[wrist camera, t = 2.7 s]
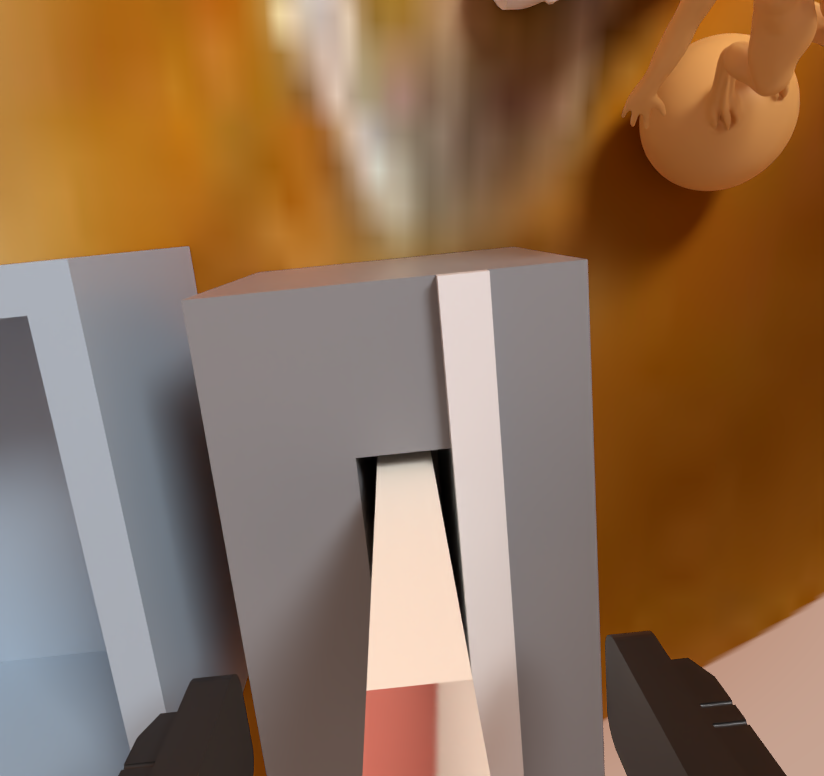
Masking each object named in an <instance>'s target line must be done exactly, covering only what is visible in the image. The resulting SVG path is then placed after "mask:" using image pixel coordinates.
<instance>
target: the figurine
mask: <svg viewBox="0 0 824 776" xmlns="http://www.w3.org/2000/svg"><path fill="white" fill-rule="evenodd" d="M715 1H716V0H681V1H680V3H679V6H678V8H677V10H676V12H675V14H674V16H673V18H672V20H671V22H670V23H669V25H668V27H667V28H666V30H665V32H664V34H663V36H662V38H661V41H660V43H659V44H658V46H657V48H656V50H655V52H654V55H653V57H652V60H651V63H650V65H649V68H648V70H647V72H646V74H645V75H644V77H643V78H642V79H641V81H640V82H639V83H638V84H637V86H636V87H635V88H634V90H633V91H632V92H631V94H630V95H629V97H628V99H627V102H626V104H625V106H624V109H623V112H622V118H624V117H625V116H626V114H627V112H628V111H631V112H632V116H631V120H630V123H631V126H632V127H633V126H634V125H635V123H636V120H637V118H638V116H639V114H640V118H639V131H640V138H641V143H642V146H643V149H644V152H645V154H646V156H647V158H648V160H649V161H650V163H651V164H652V166H653V167H654V168H655V169H656V170H657V171H658V172H659V173H660V174H661V175H662V176H663V177H664V178H666V179H667V180H669V181H670V182H672V183H674V184H676V185H678V186H681V187H684V188H687V189H691V190H697V191H717V190H723V189H727V188H731V187H734V186H737V185H740V184H742V183H744V182H746V181H748V180H750V179H752V178H753V177H755V176H757V175H758V174H760V173H761V172H762V171H764V170H765V169H766V168H767V167H768V166H769V165H770V164H771V163H772V162H773V161H774V160H775V159H776V158H777V157H778V156H779V155H780V153H781V152H782V151H783V149H784V148H785V146H786V145H787V143H788V141H789V140H790V138H791V136H792V133H793V131H794V128H795V126H796V122H797V119H798V114H799V107H800V92H799V85H798V81H797V78H796V75H795V72H794V70H795V67H796V64H797V62H798V60H799V59H800V57H801V56H802V55H803V53H804V52H805V51H806V50H807V48H808V47H809V45H810V44H811V42H814V43H817V44H819V45H822V46H824V0H820V4H819V3H817V2H814V0H754V12H753V17H752V28H751V35H746V34H738V33H727V34H719V35H714V36H710V37H706V38H703V39H701V40H698V41H696V42H694V43H692V44H690V42H691V40H692V38H693V36H694V34H695V32H696V30H697V28H698V26H699V24H700V23H701V21H702V20H703V18H704V17H705V16H706V14H707V13H708V12H709V10H710V9H711V7H712V6H713V4H714V3H715ZM689 44H690V45H689Z"/></svg>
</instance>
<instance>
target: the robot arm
mask: <svg viewBox="0 0 824 776" xmlns="http://www.w3.org/2000/svg"><path fill="white" fill-rule="evenodd" d="M605 655H606V687H607V713H608V721H609V726H610V731H611V735H612V739H613V742H614V745H615V748H616V751H617V753H618V755H619V758H620V760H621V762H622V765H623V767H624V769H625V772H626V774H627V776H786V774H785V773H784V772H783V770H782V769H781V767H780V766H779V765H778V763H777V762H776V761H775V759H774V758H773V757H772V755H771V754H770V753H769V751H768V750H767V748H766V747H765V746H764V744H763V743H762V741H761V740H760V739H759V737H758V736H757V734H756V733H755V732H754V730H753V729H752V727H751V726H750V725H747V723H746V719H745V718H744V716H743V715H742V714H741V712H740V711H739V710H738V708H737V707H736V705H733V704H732V700H731V699H730V697H729V696H728V694H727V693H726V692H725V690H724V689H723V687H722V686H721V685H720V683H719V682H718V681H717V679H716V678H715V677H714V676H713V675H712V674H710V673H709V672H707V671H706V670H705V669H703V668H702V667H700V666H699V665H697V664H696V663H695V662H693V661H692V660H690V659H689V658H683V659H673V660H671V659H670V658H669V656H668V655H667V653H666V652H665V650H664V649H663V647H662V646H661V644H660V643H659V641H658V640H657V638H656V636H655V635H654V634H653V633H652V632H651V631H641V632H632V633H623V634H613V635H608V636H607V637H606V642H605ZM253 772H254V756H253V746H252V741H251V735H250V730H249V724H248V719H247V713H246V708H245V702H244V697H243V692H242V686H241V682H240V679H239V677H238V675H237V674H230V675H220V676H211V677H202V678H193V679H192V680H191V681H190V683H189V685H188V687H187V690H186V692H185V694H184V697H183V699H182V701H181V704H180V706H179V708H178V710H177V712H170V713H160V714H159V716H158V717H157V718H156V719H155V720H154V721H153V722H152V723H151V724H150V725H149V726H148V727H147V728H146V729H145V730H144V731H143V732H142V733H141V734H140V735H139V736H138V737H137V739H136V741H135V743H134V745H133V747H132V749H131V751H130V753H129V755H128V757H127V759H126V761H125V763H124V769H123V770H121V771H120V773H119V775H118V776H253Z"/></svg>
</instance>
